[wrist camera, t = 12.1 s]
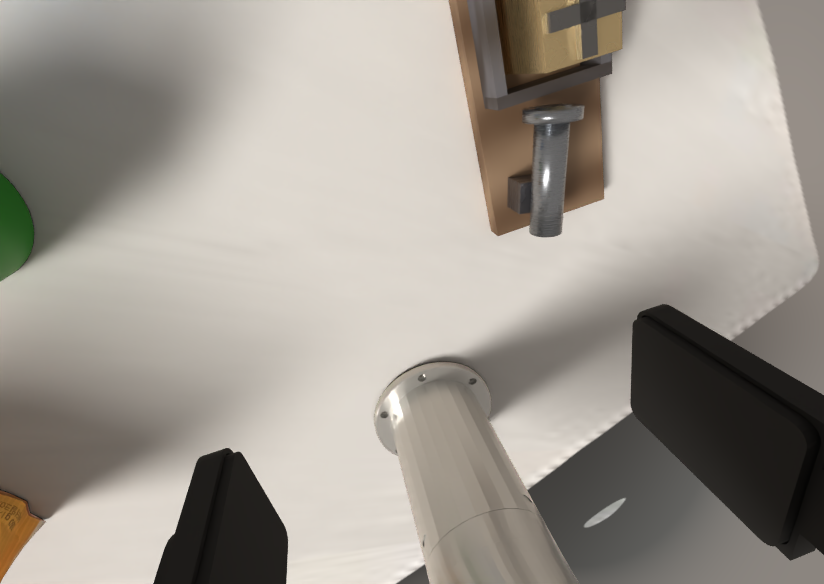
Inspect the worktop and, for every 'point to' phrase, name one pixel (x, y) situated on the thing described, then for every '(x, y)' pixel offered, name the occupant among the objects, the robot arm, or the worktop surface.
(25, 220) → the green bottle
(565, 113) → the shaft
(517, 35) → the coupling block
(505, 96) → the stand
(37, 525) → the pancake mix bag
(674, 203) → the worktop surface
